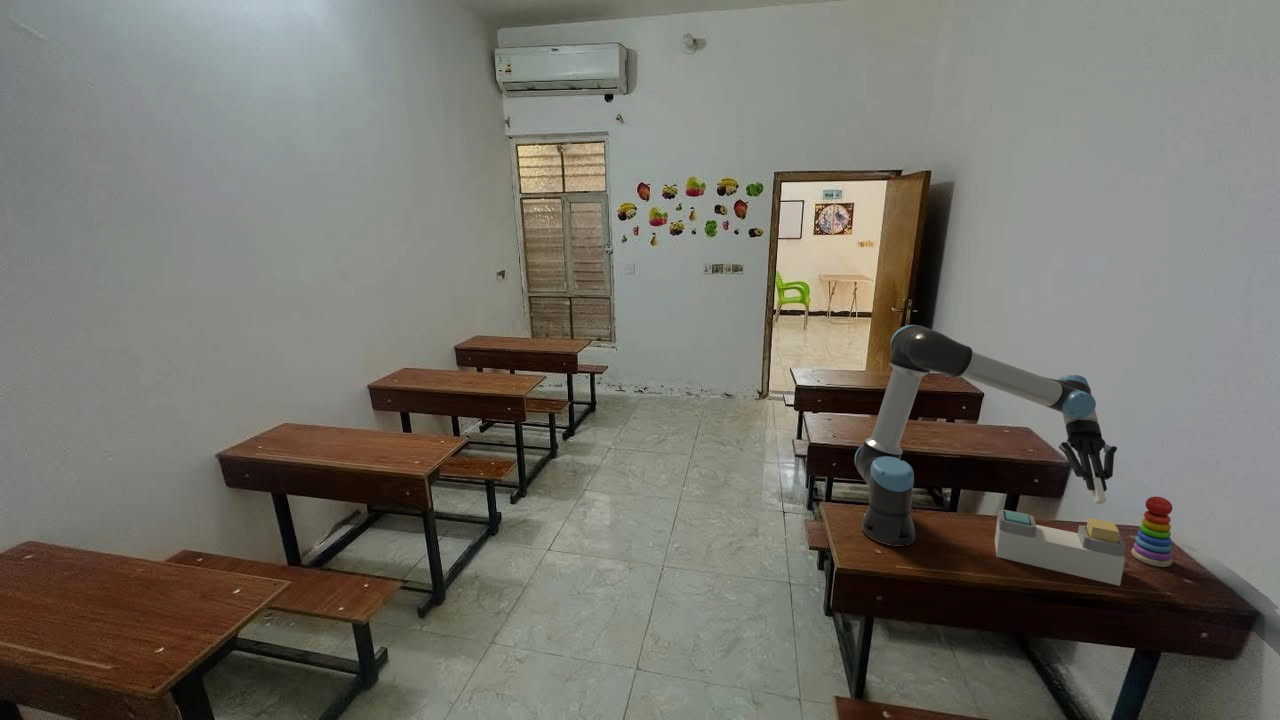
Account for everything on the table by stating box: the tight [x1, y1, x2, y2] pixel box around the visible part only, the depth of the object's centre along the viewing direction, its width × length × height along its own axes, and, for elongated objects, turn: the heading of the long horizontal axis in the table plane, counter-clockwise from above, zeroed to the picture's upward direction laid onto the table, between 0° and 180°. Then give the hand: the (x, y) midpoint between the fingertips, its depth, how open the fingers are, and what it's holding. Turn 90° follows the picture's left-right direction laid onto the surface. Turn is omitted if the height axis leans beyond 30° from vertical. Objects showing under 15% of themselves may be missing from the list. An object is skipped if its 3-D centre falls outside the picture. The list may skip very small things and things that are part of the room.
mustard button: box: [1086, 517, 1120, 543], centre depth 130 cm, size 5×5×4 cm
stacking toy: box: [1130, 496, 1173, 568], centre depth 135 cm, size 8×8×19 cm
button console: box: [994, 509, 1127, 587], centre depth 136 cm, size 26×9×11 cm, turn 58°
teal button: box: [1004, 509, 1030, 525], centre depth 140 cm, size 5×5×4 cm
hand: (1100, 502), depth 134 cm, fingers closed
